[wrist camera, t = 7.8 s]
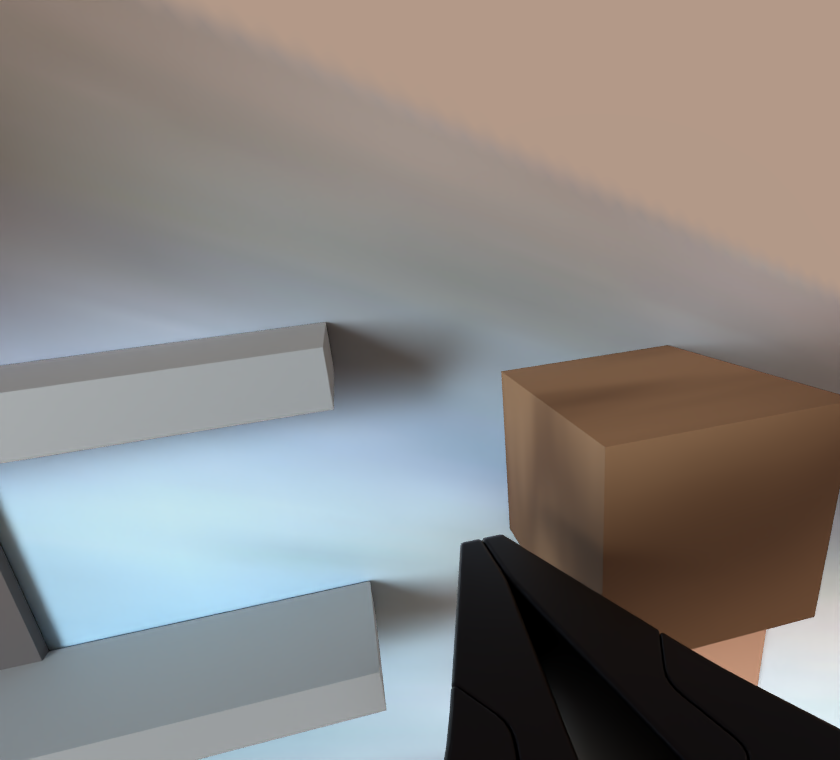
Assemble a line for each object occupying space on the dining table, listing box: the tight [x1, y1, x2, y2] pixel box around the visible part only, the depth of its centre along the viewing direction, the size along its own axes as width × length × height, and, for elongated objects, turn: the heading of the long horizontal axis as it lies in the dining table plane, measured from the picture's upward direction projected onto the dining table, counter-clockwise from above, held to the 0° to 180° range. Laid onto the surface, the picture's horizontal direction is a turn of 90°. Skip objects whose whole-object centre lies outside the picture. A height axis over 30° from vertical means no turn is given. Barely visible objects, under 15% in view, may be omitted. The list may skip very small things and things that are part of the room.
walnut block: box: [501, 345, 840, 649], centre depth 11 cm, size 5×5×5 cm
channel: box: [0, 322, 386, 760], centre depth 10 cm, size 9×11×3 cm
